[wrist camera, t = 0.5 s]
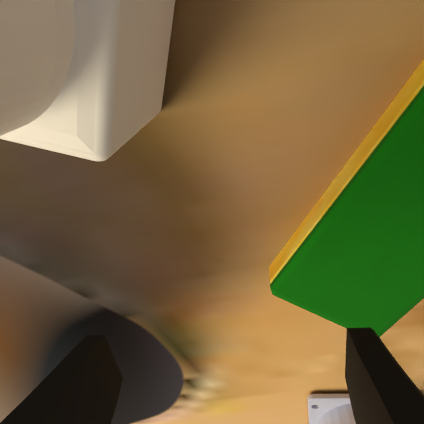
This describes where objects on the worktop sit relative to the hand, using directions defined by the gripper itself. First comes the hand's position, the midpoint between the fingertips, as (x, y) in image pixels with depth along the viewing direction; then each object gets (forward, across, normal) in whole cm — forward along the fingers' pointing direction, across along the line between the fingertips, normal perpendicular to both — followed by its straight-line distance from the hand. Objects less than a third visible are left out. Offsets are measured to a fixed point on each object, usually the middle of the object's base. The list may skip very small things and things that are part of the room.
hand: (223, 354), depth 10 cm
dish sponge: (+10, -8, +1) cm, 13 cm away
